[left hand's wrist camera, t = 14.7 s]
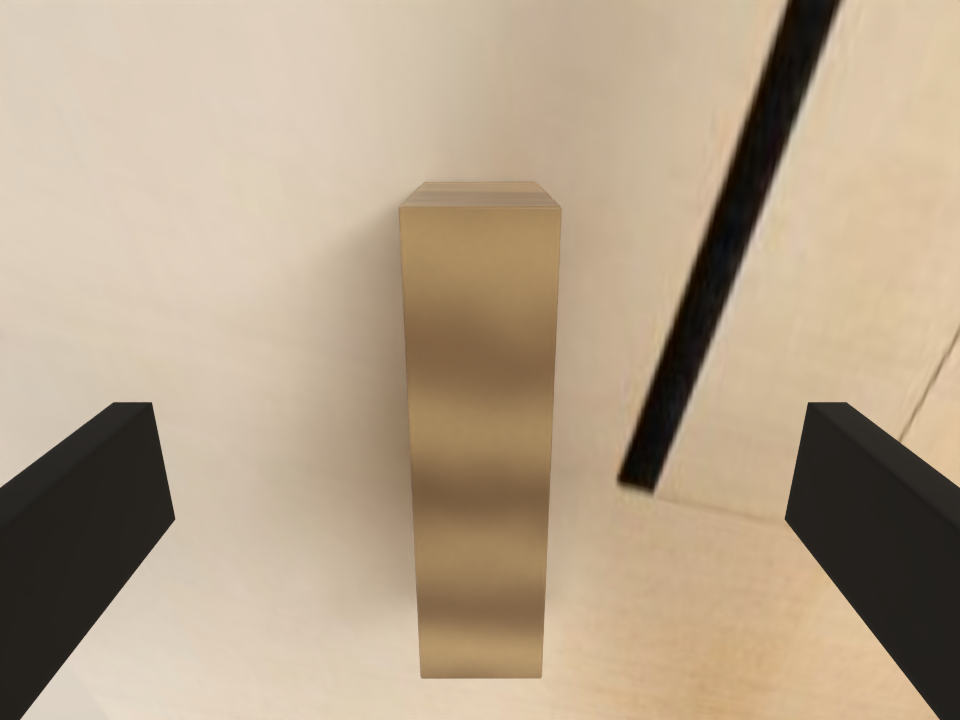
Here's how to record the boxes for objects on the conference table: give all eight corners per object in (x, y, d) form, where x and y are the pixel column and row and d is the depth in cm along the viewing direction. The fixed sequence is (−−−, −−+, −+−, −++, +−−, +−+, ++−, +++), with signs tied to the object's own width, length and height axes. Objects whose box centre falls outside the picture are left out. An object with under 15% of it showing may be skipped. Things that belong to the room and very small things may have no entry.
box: (423, 182, 32) (398, 206, 22) (536, 181, 32) (561, 206, 22) (435, 542, 39) (420, 679, 30) (526, 542, 39) (541, 679, 30)
